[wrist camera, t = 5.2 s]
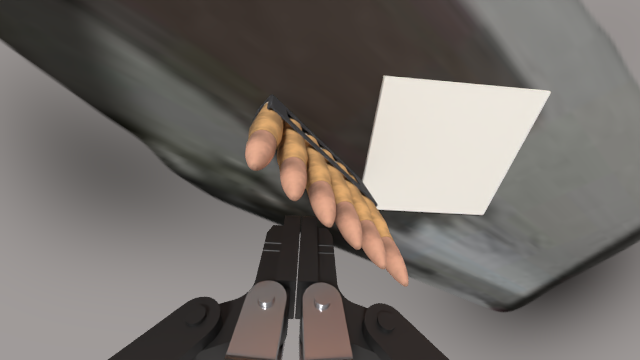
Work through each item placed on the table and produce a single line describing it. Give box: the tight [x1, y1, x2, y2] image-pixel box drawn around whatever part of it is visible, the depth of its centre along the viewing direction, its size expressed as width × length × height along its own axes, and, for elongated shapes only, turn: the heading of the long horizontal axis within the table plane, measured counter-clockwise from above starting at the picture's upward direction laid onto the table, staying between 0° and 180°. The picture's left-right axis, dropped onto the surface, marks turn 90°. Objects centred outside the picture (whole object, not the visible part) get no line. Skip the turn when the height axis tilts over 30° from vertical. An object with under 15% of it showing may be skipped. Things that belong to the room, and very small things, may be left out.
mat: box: [362, 76, 551, 215], centre depth 21 cm, size 13×12×1 cm
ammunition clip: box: [245, 94, 408, 286], centre depth 15 cm, size 11×2×12 cm, turn 45°
